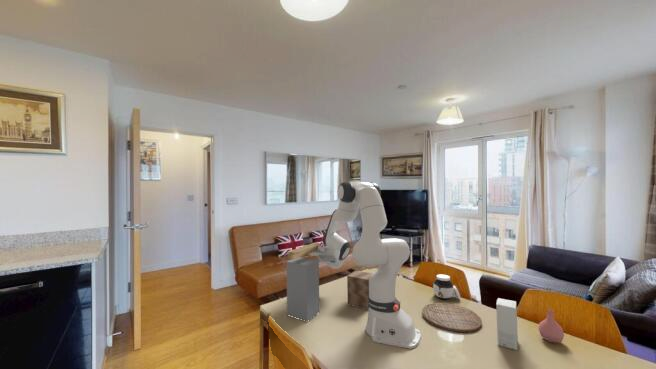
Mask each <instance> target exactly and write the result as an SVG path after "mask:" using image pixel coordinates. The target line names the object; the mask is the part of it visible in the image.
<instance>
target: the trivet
mask: <svg viewBox="0 0 656 369" xmlns="http://www.w3.org/2000/svg"><path fill="white" fill-rule="evenodd" d="M421 311H422V317H423V319H424V320H425V321H426V322H427V323H428V324H430V325H431V326H433V327H435V328H437V329H439V330H443V331H447V332H451V333H457V334H472V333H475V332H478V331H479V330H480V329H481V328H482V322H483V320H482V319H481V317H480V316H479V314H478V313H476V312H475V311H473V310H471V309H469V308H466V307H464V306H461V305H457V304H453V303H446V302H434V303H429V304H427V305H424V306H423V307H422V310H421Z"/></svg>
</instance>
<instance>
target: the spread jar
mask: <svg viewBox="0 0 656 369" xmlns="http://www.w3.org/2000/svg"><path fill="white" fill-rule="evenodd" d="M432 288H433V290H432V291H433V294H434V295H435V297H436V298H437V299H439V300H443V301H449V300H451V299H452V298H453V297H455V298H456V300H458V299H460V298H461V294H460V291H459V290H458V288H457V286H456V285H454V284H453V282H452V281H451V276H450V275H447V274H441V273H439V274H437V275H436V278H435V279H434V281H433V286H432Z"/></svg>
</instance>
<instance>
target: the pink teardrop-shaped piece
mask: <svg viewBox="0 0 656 369" xmlns="http://www.w3.org/2000/svg"><path fill="white" fill-rule="evenodd" d="M538 331H539V334H540V335H539V336H541V337H542V338H543V339H545V340H547V341H548V342H549V343H561V342H563V340H564V337H565V333H564V329H563V327H562V326H561V325H559V323H558V322H557V321H556V319H555V317H554V310H553V309H550V308H548V309H547V316H546V318H545V319H543V320H542V321H540V322H539V324H538Z"/></svg>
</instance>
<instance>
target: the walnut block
mask: <svg viewBox="0 0 656 369" xmlns="http://www.w3.org/2000/svg"><path fill="white" fill-rule="evenodd" d="M373 273H374V272H373ZM373 273H372V272H366V271H361V270H354V271H352V272H351V273H349V274H348V275H347V278H346V279H347V282H346V283H347V286H346V287H347V288H346V290H347V291H346V292H347V305H348V304H350V305H349V306H351V305H354V306H353V307H355V306H358V307H357V308H359V307H361V308H360V309H363V308H365V309H364V310H367V309H368V296H369V279H370V276H371V275H372V274H373ZM368 311H369V309H368Z"/></svg>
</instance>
